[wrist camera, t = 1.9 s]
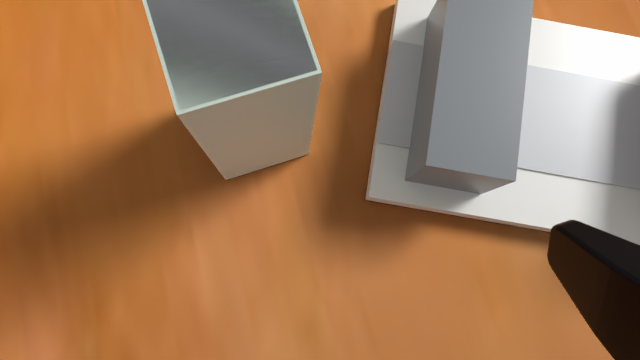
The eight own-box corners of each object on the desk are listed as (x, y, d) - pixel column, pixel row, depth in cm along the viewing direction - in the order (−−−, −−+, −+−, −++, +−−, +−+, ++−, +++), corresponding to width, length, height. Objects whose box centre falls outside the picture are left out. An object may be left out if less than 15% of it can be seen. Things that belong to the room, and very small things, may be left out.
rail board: (741, 68, 25) (837, 26, 21) (738, 265, 24) (842, 265, 19) (395, 3, 25) (418, -54, 20) (365, 199, 23) (383, 184, 19)
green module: (308, 154, 23) (322, 72, 13) (225, 180, 23) (176, 115, 13) (282, 76, 24) (276, -57, 14) (201, 100, 23) (136, -20, 14)
